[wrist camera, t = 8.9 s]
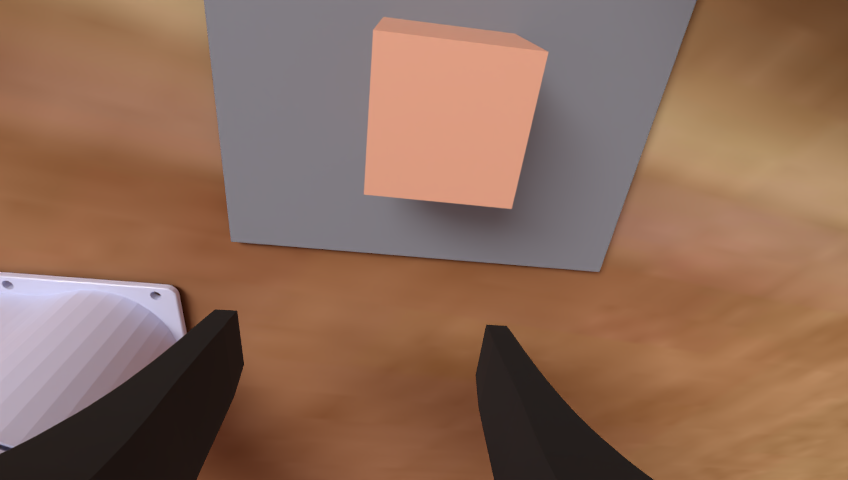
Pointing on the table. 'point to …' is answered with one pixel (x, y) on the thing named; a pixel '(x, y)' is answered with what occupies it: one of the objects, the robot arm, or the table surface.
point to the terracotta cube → (449, 112)
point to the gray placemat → (348, 122)
